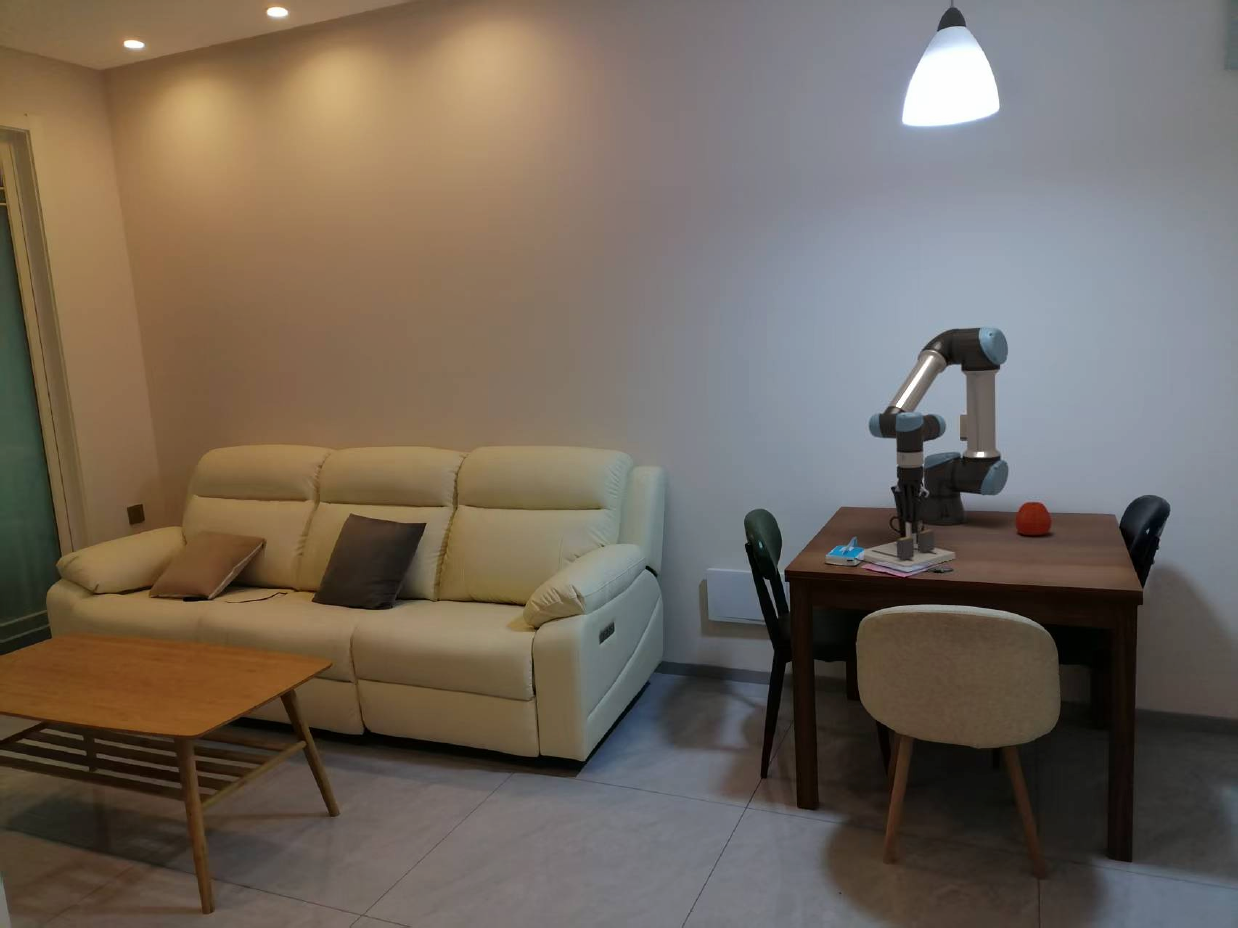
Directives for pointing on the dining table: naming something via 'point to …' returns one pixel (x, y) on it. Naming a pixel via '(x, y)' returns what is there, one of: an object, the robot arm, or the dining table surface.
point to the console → (890, 555)
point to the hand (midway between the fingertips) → (911, 543)
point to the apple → (1033, 519)
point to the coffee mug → (901, 527)
